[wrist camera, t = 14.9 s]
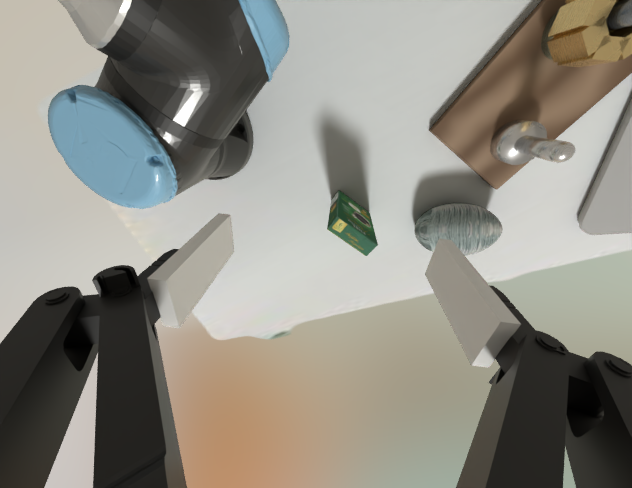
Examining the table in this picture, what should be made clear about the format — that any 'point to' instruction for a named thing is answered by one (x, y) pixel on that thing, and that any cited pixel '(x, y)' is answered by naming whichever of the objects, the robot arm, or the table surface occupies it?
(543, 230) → the table surface
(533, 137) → the stand rod
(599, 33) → the tan boxy piece
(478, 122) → the walnut plate
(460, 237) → the grey marbled egg
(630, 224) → the tablet
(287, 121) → the table surface
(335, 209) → the coffee box
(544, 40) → the metal peg stand
